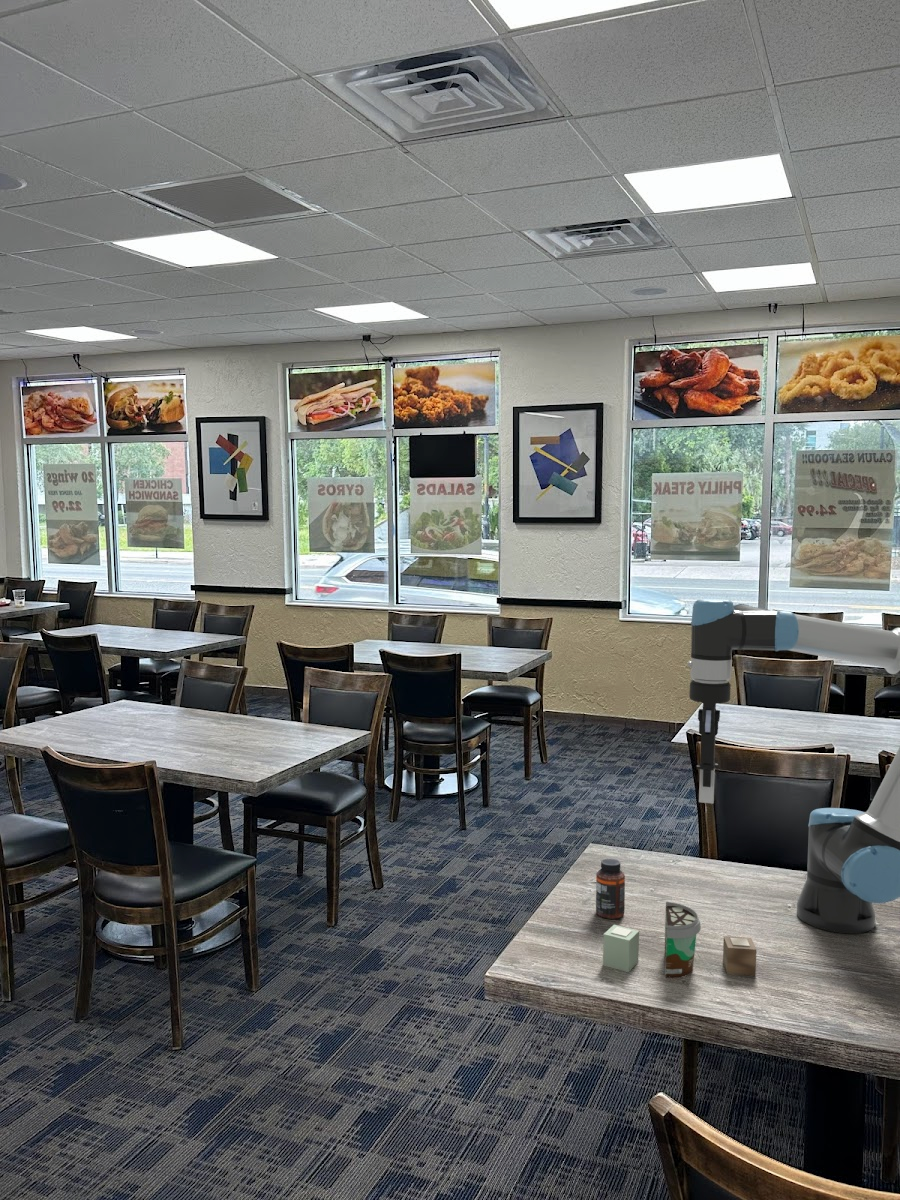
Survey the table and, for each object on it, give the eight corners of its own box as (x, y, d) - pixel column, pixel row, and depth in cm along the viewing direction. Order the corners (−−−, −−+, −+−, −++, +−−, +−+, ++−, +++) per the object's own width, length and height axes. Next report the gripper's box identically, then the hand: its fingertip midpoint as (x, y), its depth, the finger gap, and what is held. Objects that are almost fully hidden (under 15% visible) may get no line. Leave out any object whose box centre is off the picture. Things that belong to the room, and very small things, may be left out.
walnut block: (750, 963, 176) (751, 936, 176) (755, 976, 171) (756, 948, 171) (722, 961, 177) (723, 934, 176) (727, 974, 172) (727, 946, 171)
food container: (701, 985, 167) (703, 930, 166) (665, 981, 168) (667, 926, 168) (697, 954, 179) (699, 903, 179) (664, 951, 180) (665, 900, 180)
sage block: (638, 962, 176) (639, 929, 176) (628, 972, 172) (629, 939, 171) (613, 955, 179) (614, 923, 178) (602, 965, 174) (603, 932, 174)
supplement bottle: (623, 909, 200) (624, 857, 199) (625, 920, 194) (626, 867, 194) (594, 908, 201) (596, 856, 200) (596, 919, 195) (597, 866, 194)
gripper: (691, 674, 187) (688, 791, 189) (687, 684, 175) (684, 809, 176) (731, 676, 185) (727, 794, 186) (730, 686, 172) (725, 813, 174)
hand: (706, 801), depth 181 cm, fingers closed
